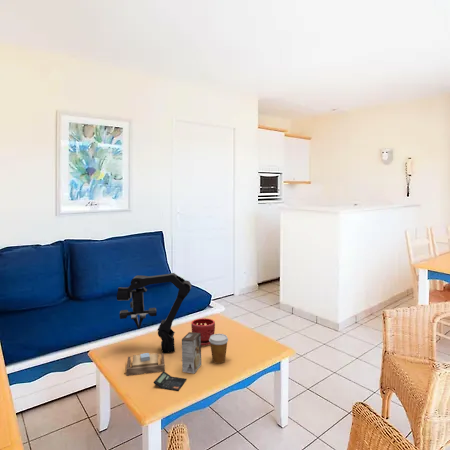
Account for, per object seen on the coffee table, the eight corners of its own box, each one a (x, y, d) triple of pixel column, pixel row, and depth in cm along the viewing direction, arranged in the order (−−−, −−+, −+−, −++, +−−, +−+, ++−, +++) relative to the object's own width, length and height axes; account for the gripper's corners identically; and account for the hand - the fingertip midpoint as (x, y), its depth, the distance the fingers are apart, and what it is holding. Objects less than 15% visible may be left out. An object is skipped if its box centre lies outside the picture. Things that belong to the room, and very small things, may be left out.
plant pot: (219, 343, 196) (219, 322, 194) (199, 349, 188) (198, 327, 187) (207, 335, 206) (207, 315, 205) (187, 341, 199) (187, 320, 198)
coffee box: (189, 363, 174) (188, 331, 172) (201, 364, 172) (201, 332, 170) (181, 372, 165) (181, 339, 163) (194, 374, 163) (194, 340, 162)
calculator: (178, 391, 149) (178, 385, 149) (153, 388, 152) (153, 381, 152) (186, 380, 158) (186, 374, 158) (162, 377, 161) (162, 370, 161)
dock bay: (163, 358, 178) (163, 353, 178) (164, 371, 166) (164, 365, 165) (128, 362, 175) (127, 356, 174) (126, 375, 162) (126, 369, 162)
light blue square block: (148, 356, 173) (148, 352, 173) (149, 360, 169) (149, 356, 169) (140, 357, 172) (140, 354, 172) (141, 361, 168) (141, 357, 168)
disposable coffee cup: (230, 357, 179) (230, 334, 178) (224, 366, 170) (224, 342, 169) (213, 354, 182) (213, 332, 181) (206, 363, 173) (206, 339, 172)
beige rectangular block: (158, 360, 177) (157, 353, 177) (158, 370, 167) (158, 362, 167) (133, 363, 175) (133, 355, 174) (132, 373, 165) (132, 365, 165)
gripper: (155, 294, 195) (156, 321, 196) (120, 296, 191) (121, 324, 192) (156, 300, 184) (157, 329, 185) (118, 303, 180) (120, 332, 181)
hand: (138, 328), depth 186 cm, fingers closed
